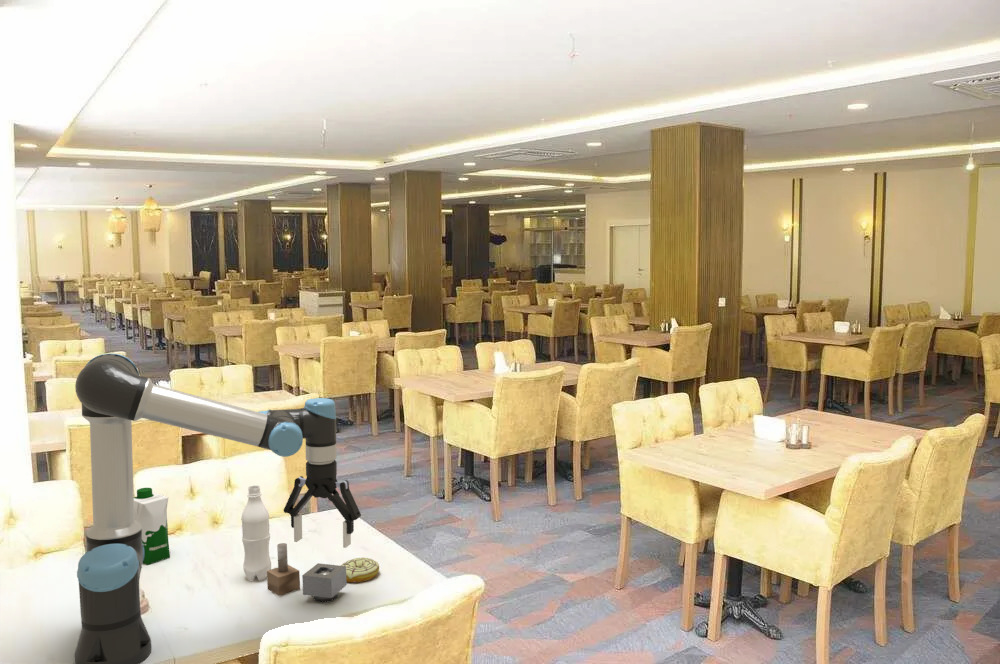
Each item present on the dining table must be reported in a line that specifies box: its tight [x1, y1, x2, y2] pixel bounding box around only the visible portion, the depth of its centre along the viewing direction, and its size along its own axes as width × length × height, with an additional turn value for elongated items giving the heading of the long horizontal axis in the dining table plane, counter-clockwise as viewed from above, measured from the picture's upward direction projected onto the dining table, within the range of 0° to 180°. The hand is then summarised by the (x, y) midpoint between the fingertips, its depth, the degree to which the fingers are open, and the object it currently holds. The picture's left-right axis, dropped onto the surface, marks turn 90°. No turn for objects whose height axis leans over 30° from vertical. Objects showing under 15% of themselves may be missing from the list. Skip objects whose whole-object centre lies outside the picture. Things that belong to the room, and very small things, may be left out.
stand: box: [266, 542, 301, 597], centre depth 210 cm, size 6×6×12 cm
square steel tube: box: [301, 562, 348, 598], centre depth 205 cm, size 8×8×5 cm
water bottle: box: [240, 485, 272, 582], centre depth 217 cm, size 7×7×25 cm
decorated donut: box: [340, 557, 380, 584], centre depth 219 cm, size 10×11×4 cm
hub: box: [312, 571, 339, 604], centre depth 205 cm, size 6×6×6 cm
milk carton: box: [134, 487, 171, 566], centre depth 231 cm, size 9×9×20 cm
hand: (322, 543), depth 204 cm, fingers open, 13 cm apart
